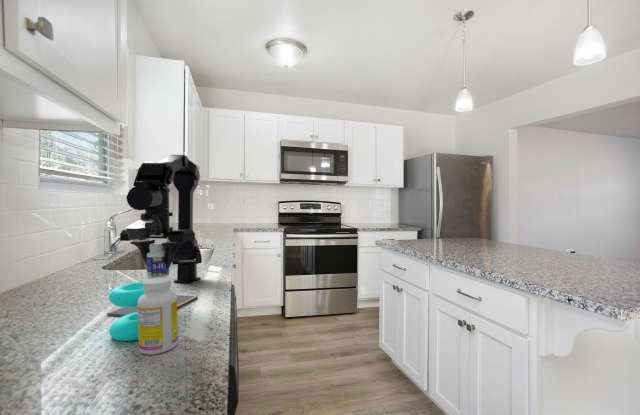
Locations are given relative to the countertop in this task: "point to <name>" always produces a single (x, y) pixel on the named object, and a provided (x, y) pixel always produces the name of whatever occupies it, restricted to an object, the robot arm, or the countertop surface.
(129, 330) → the donuts
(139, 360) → the countertop surface
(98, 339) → the countertop surface
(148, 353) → the supplement bottle
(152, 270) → the pill bottle
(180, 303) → the mat
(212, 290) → the countertop surface
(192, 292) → the countertop surface
